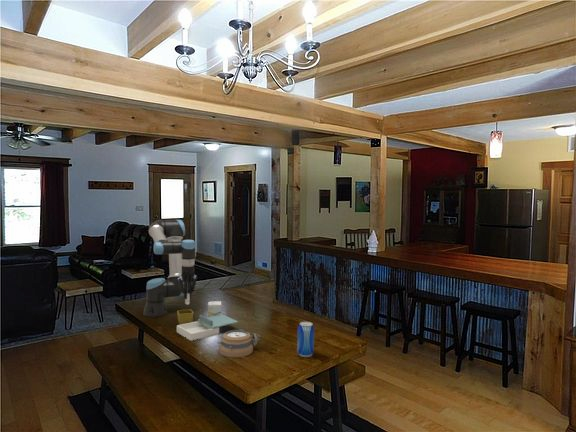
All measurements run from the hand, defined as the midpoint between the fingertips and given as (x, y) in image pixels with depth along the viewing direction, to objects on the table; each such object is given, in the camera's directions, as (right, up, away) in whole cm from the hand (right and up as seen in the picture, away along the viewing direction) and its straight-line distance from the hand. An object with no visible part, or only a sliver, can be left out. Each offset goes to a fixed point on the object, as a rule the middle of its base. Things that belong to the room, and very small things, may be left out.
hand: (187, 303), depth 234 cm
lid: (+19, -10, -2) cm, 22 cm away
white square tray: (+9, -15, -10) cm, 20 cm away
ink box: (+14, -14, +13) cm, 24 cm away
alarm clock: (+37, -17, -33) cm, 52 cm away
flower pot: (-2, -14, +2) cm, 14 cm away
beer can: (+70, -18, -37) cm, 82 cm away
